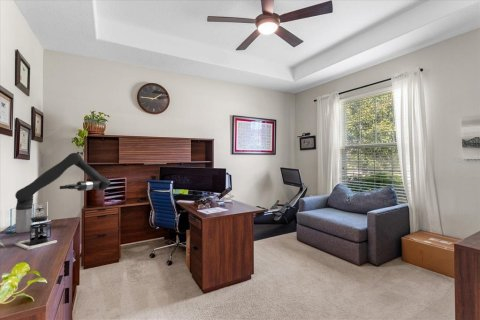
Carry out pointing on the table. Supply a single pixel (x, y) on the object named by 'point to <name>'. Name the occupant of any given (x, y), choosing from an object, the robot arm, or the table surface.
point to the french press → (39, 237)
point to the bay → (32, 246)
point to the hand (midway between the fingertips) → (60, 187)
